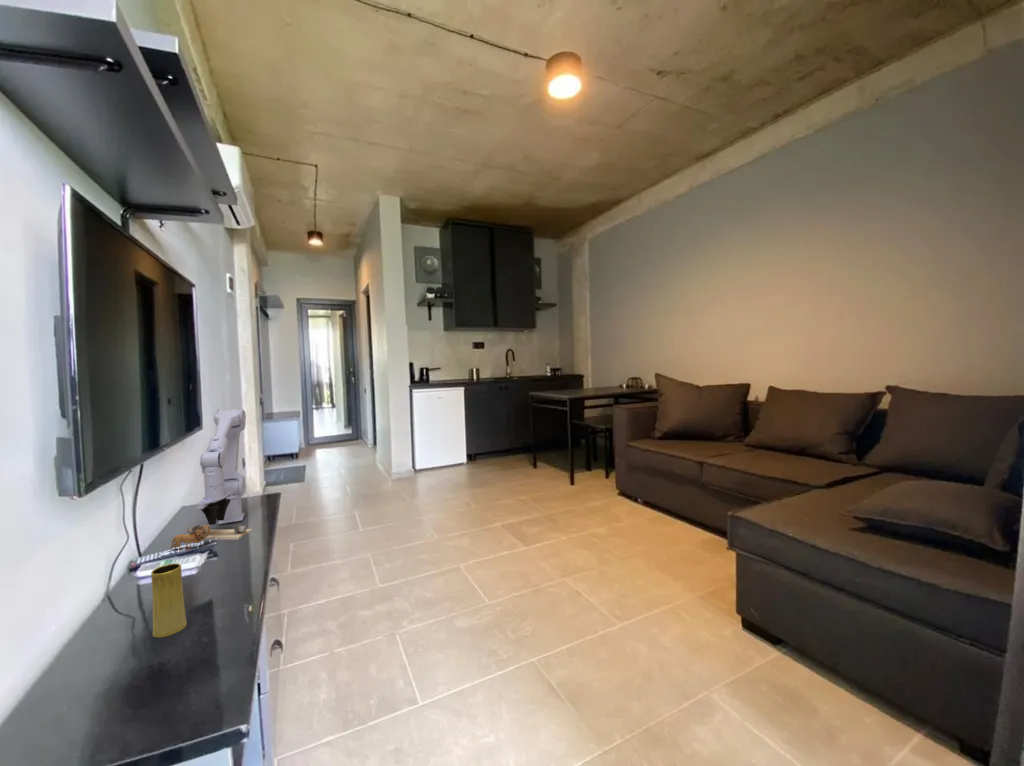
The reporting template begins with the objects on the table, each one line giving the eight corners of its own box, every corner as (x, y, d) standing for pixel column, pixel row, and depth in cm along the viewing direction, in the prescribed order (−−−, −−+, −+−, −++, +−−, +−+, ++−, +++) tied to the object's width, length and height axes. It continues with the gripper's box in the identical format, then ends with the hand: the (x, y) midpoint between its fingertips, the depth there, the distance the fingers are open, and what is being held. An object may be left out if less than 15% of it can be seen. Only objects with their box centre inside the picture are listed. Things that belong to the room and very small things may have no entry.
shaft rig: (196, 532, 155) (196, 522, 154) (252, 531, 154) (251, 522, 153) (181, 540, 148) (180, 530, 147) (238, 539, 147) (238, 529, 146)
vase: (145, 640, 92) (141, 576, 91) (163, 623, 98) (159, 564, 97) (177, 636, 93) (173, 573, 92) (192, 620, 99) (189, 560, 98)
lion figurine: (211, 543, 144) (210, 522, 144) (210, 547, 141) (209, 526, 140) (167, 551, 138) (166, 530, 138) (165, 556, 135) (163, 534, 134)
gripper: (218, 479, 157) (220, 515, 158) (187, 491, 143) (189, 530, 143) (236, 479, 157) (238, 514, 157) (207, 490, 142) (209, 529, 143)
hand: (216, 522), depth 150 cm, fingers open, 3 cm apart
